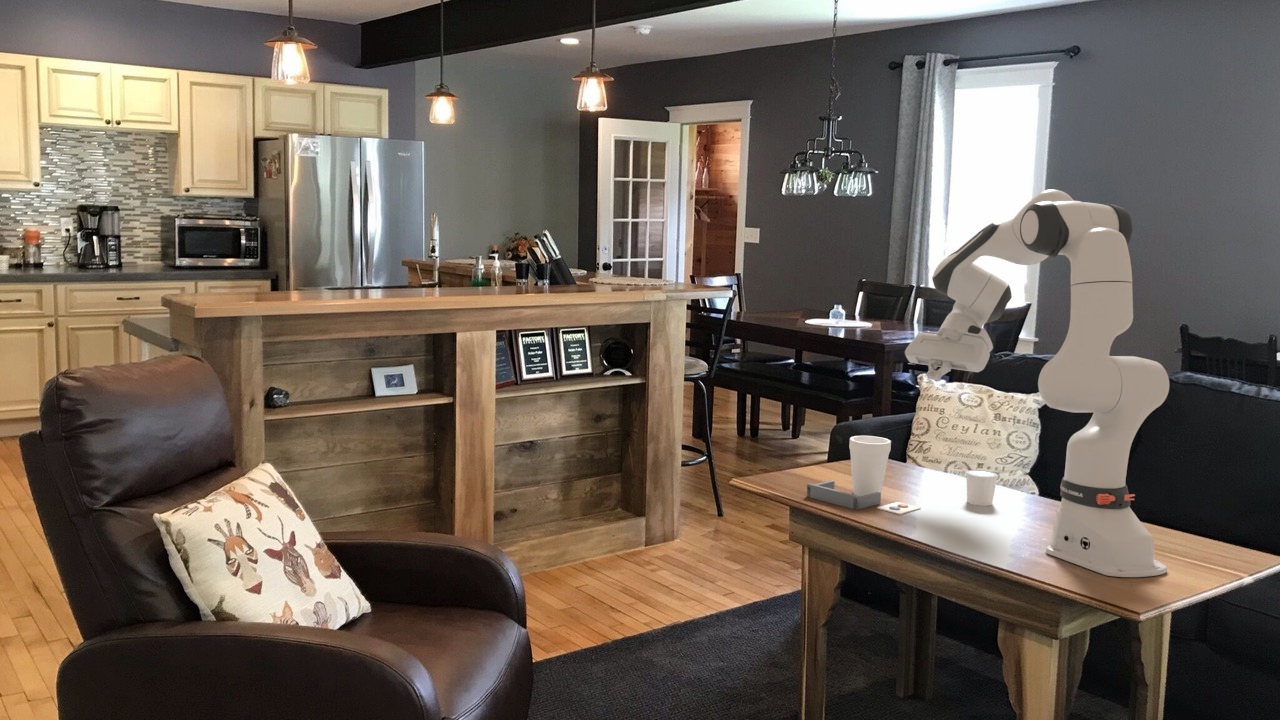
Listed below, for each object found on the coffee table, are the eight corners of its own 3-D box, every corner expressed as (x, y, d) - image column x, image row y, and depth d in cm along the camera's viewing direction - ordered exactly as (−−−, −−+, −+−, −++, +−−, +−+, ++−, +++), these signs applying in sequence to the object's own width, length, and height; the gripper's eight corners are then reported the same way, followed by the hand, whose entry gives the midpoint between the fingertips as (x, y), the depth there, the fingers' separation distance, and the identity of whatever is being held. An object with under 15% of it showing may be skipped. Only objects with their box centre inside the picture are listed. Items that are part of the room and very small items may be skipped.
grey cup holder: (830, 490, 251) (831, 478, 250) (880, 503, 241) (881, 490, 240) (806, 496, 245) (807, 483, 244) (856, 510, 235) (857, 496, 234)
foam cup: (885, 490, 253) (888, 437, 251) (889, 500, 244) (893, 445, 242) (844, 488, 254) (848, 434, 252) (848, 497, 245) (851, 442, 243)
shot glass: (991, 499, 248) (993, 470, 247) (998, 507, 241) (1000, 477, 240) (961, 497, 248) (963, 468, 248) (967, 505, 242) (969, 475, 241)
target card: (897, 503, 242) (897, 500, 242) (920, 508, 237) (920, 506, 237) (877, 508, 236) (877, 506, 236) (900, 514, 232) (900, 512, 232)
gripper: (915, 322, 263) (890, 363, 257) (991, 330, 248) (966, 375, 242) (924, 339, 266) (899, 380, 261) (999, 348, 251) (974, 392, 246)
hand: (932, 378), depth 252 cm, fingers closed
